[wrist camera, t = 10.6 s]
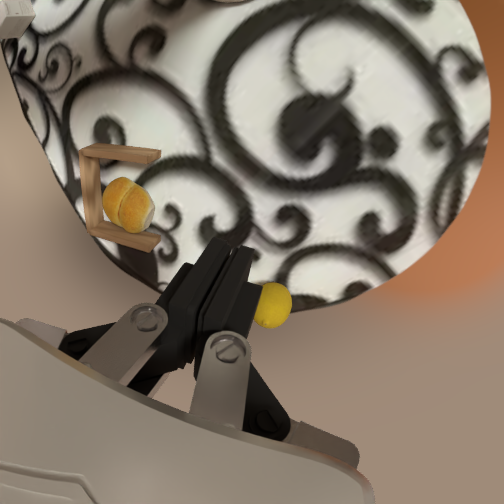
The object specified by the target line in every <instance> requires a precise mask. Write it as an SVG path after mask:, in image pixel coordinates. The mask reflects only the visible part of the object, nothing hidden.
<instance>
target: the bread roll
mask: <svg viewBox="0 0 504 504" xmlns="http://www.w3.org/2000/svg"><path fill="white" fill-rule="evenodd" d="M102 205H103V209H104V211H105V213H106V215H107V216H108V218H109V219H110V221H111V222H113V223H114V224H116V225H118V226H120V227H122V228H124V229H125V230H126V231H127V232H129V233H134V234H135V233H140V232H142V231H144V230H145V229H146V228H148V227H149V225H150V223H151V221H152V219H153V215H154V211H155V205H154V203H153V201H152V199H151V197H150V195H149V193H148V192H147V191H146V190H145V189H144V188H142V187H141V186H139V185H138V184H136V183H134V182H133V181H131V180H130V179H128V178H126V177H120V178H117V179H115V180H113V181H112V182H110V183H109V185H108V186H107V187H106V189H105V191H104V193H103V198H102Z"/></svg>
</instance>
